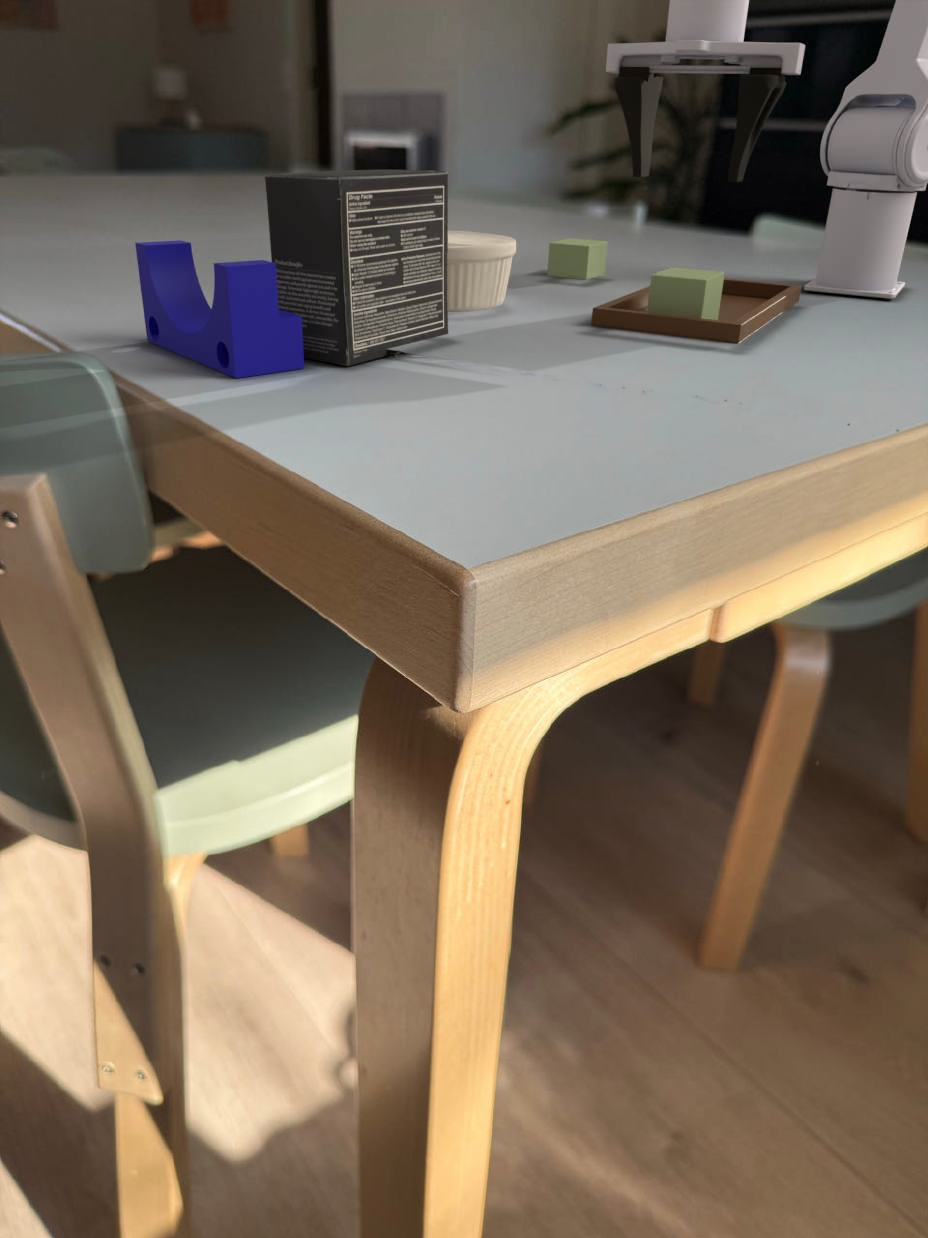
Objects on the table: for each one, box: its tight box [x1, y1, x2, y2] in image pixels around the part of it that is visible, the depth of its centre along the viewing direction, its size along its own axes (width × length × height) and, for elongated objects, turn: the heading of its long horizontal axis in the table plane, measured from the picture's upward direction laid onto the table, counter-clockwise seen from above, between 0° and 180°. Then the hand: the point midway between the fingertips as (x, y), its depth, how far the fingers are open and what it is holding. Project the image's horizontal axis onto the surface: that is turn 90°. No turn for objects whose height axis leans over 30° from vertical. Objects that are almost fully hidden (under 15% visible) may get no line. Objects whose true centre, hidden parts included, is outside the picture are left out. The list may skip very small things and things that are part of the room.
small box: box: [264, 169, 449, 367], centre depth 60 cm, size 11×6×10 cm, turn 145°
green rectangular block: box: [647, 266, 726, 320], centre depth 69 cm, size 5×4×4 cm
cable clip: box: [134, 240, 305, 379], centre depth 58 cm, size 12×4×6 cm, turn 40°
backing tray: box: [590, 277, 802, 345], centre depth 74 cm, size 22×11×2 cm, turn 152°
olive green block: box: [546, 237, 609, 281], centre depth 91 cm, size 5×4×4 cm
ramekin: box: [447, 230, 517, 312], centre depth 75 cm, size 11×11×5 cm
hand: (686, 178), depth 75 cm, fingers open, 7 cm apart
